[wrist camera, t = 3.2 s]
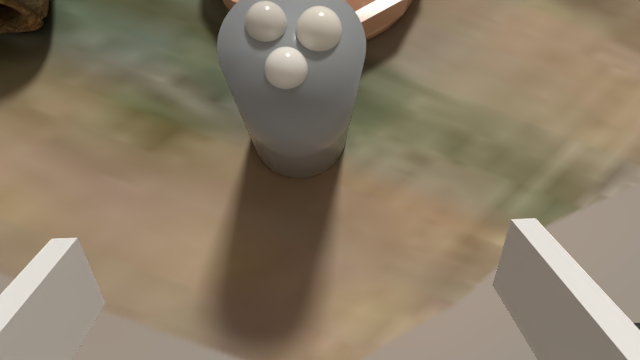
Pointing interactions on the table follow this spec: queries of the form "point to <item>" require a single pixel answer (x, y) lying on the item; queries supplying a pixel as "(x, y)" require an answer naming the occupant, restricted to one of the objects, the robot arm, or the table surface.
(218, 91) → the table surface
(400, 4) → the terracotta bowl
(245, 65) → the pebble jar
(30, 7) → the stone weight
